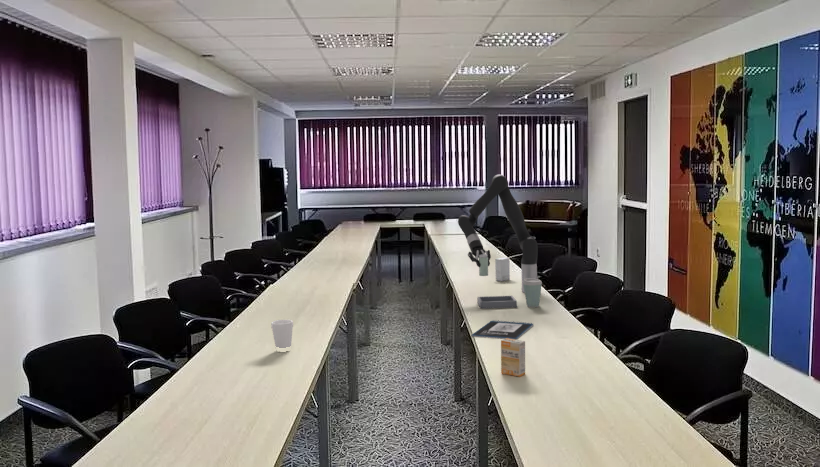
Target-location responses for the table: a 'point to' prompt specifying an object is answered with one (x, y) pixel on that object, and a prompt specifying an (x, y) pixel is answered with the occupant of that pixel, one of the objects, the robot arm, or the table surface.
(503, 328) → the sketchbook
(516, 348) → the supplement box
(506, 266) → the skincare box
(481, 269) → the shaker
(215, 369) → the table surface
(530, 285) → the disposable coffee cup
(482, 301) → the tray
